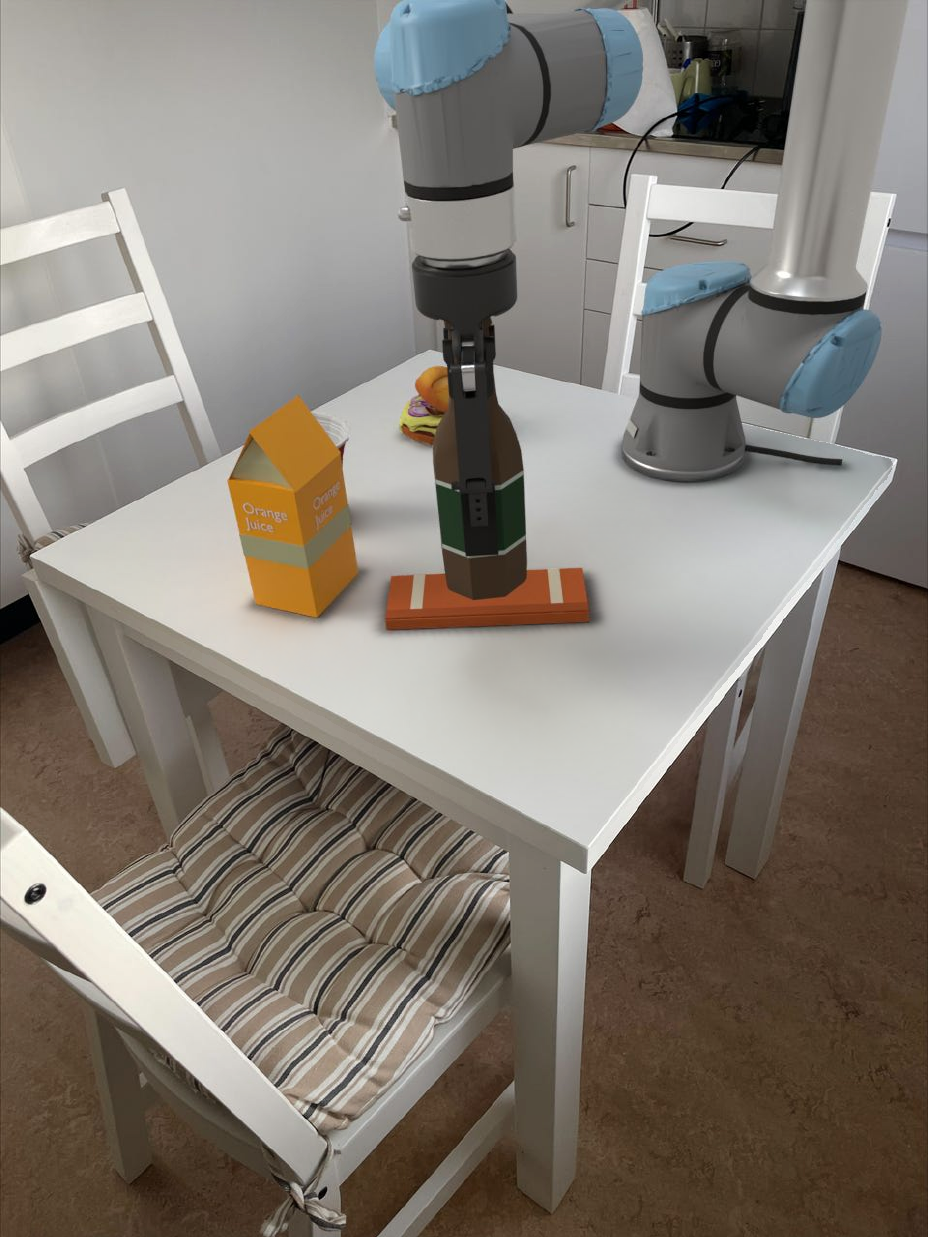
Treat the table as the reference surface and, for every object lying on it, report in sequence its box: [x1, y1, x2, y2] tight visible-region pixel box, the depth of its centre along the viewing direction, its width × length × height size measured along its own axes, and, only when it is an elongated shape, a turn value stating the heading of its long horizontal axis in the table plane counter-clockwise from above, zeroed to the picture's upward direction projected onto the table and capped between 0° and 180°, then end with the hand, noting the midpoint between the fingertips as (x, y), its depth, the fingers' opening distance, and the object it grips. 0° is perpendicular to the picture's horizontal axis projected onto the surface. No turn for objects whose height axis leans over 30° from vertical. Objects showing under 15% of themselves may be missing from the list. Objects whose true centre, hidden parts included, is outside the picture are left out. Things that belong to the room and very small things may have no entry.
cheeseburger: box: [398, 365, 449, 446], centre depth 128 cm, size 10×11×10 cm
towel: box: [384, 567, 590, 631], centre depth 96 cm, size 20×8×1 cm, turn 89°
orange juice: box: [226, 395, 359, 618], centre depth 95 cm, size 8×9×20 cm
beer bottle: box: [432, 316, 528, 600], centre depth 77 cm, size 8×8×24 cm
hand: (482, 527), depth 81 cm, fingers closed on beer bottle, 7 cm apart
